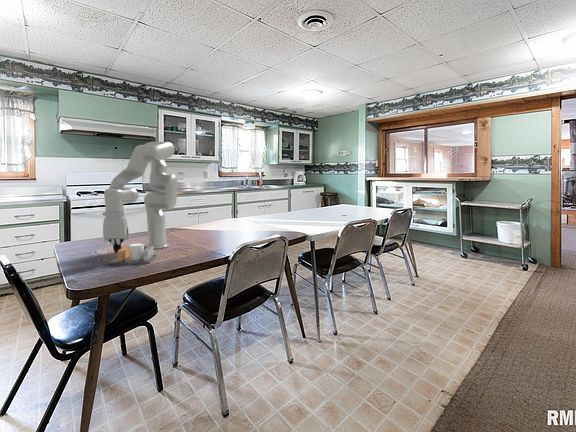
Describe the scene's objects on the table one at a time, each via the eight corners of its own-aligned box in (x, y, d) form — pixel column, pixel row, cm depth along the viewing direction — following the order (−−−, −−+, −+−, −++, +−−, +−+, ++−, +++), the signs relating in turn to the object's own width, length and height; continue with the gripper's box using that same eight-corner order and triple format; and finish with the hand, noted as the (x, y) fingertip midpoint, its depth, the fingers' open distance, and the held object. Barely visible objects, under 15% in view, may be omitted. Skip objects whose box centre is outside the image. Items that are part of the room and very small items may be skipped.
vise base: (109, 264, 144) (108, 252, 143) (119, 257, 156) (118, 245, 155) (149, 263, 147) (149, 251, 146) (156, 256, 158) (156, 245, 157)
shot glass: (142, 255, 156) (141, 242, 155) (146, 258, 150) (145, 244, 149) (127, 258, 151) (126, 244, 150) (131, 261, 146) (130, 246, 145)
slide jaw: (117, 261, 145) (117, 251, 144) (125, 255, 155) (125, 245, 154) (122, 261, 146) (121, 250, 145) (130, 255, 155) (129, 245, 155)
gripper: (94, 216, 142) (97, 254, 145) (128, 215, 144) (131, 253, 147) (101, 213, 149) (104, 250, 152) (134, 213, 151) (136, 249, 154)
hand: (117, 252), depth 149 cm, fingers closed
